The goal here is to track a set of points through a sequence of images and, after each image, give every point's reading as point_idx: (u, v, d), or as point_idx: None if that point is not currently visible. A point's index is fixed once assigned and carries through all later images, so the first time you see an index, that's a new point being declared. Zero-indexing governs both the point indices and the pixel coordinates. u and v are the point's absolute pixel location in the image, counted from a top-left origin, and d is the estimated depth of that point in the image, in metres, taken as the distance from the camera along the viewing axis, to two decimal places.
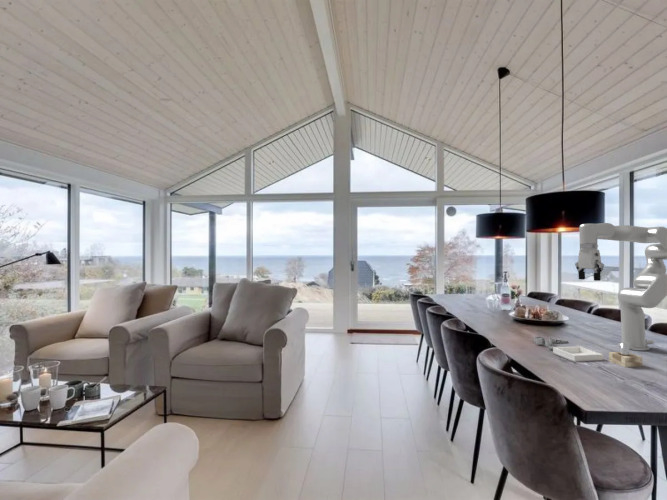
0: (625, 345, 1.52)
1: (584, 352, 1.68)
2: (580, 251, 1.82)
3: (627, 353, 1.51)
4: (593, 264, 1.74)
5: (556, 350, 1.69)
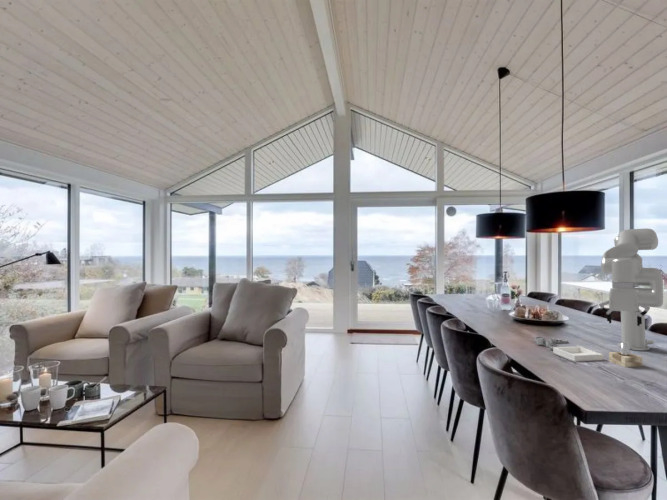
0: (625, 345, 1.52)
1: (584, 352, 1.68)
2: (615, 290, 1.53)
3: (627, 353, 1.51)
4: (638, 307, 1.48)
5: (556, 350, 1.69)
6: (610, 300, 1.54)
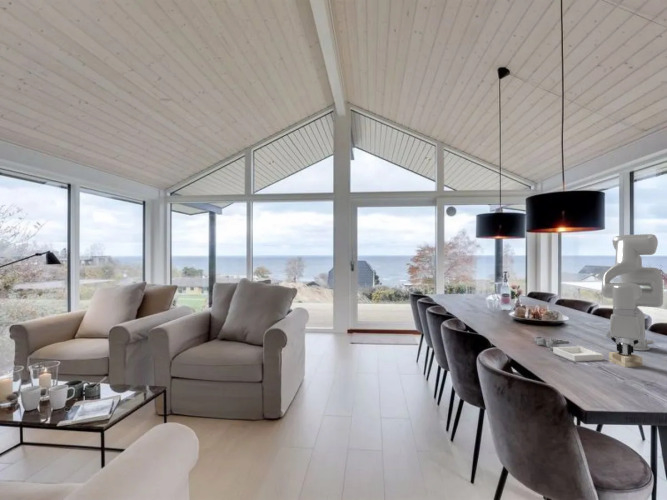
0: (625, 345, 1.52)
1: (584, 352, 1.68)
2: (615, 317, 1.53)
3: (627, 353, 1.51)
4: (638, 334, 1.48)
5: (556, 350, 1.69)
6: (611, 326, 1.54)
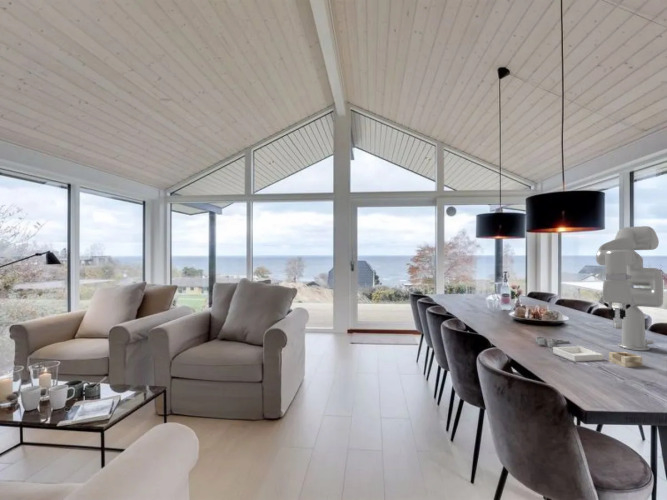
0: (617, 310, 1.53)
1: (584, 352, 1.68)
2: (608, 282, 1.55)
3: (619, 317, 1.53)
4: (630, 298, 1.50)
5: (556, 350, 1.69)
6: (604, 292, 1.56)
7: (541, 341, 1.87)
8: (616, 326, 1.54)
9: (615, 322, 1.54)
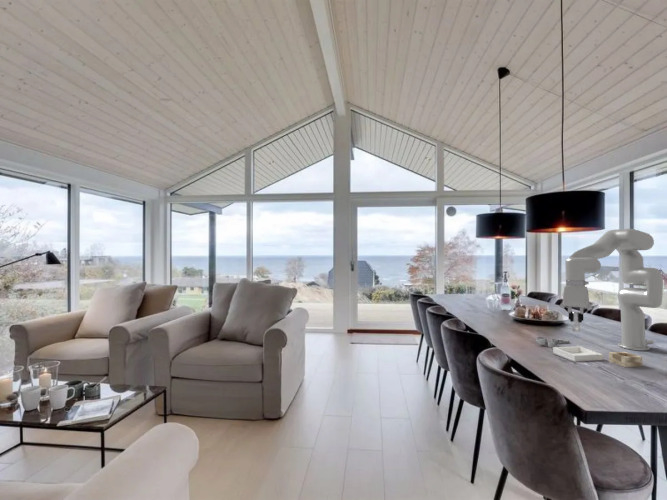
0: (576, 313, 1.64)
1: (584, 352, 1.68)
2: (567, 288, 1.65)
3: (577, 321, 1.64)
4: (587, 303, 1.61)
5: (556, 350, 1.69)
6: (563, 297, 1.67)
7: (542, 341, 1.86)
8: (574, 329, 1.64)
9: (573, 325, 1.65)
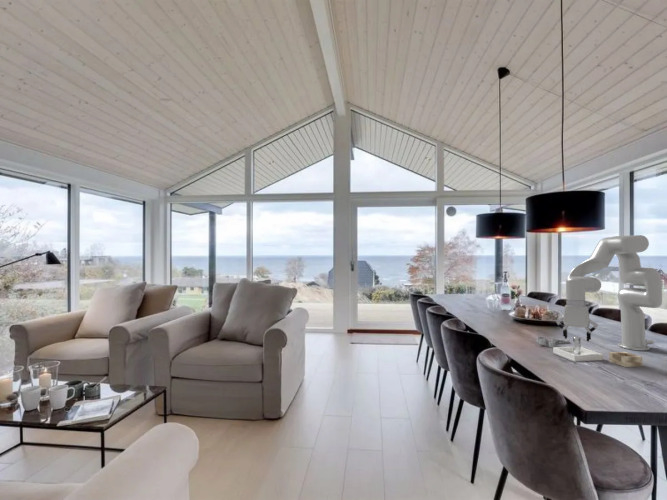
0: (577, 339, 1.64)
1: (584, 352, 1.68)
2: (568, 307, 1.65)
3: (578, 346, 1.63)
4: (588, 323, 1.61)
5: (556, 350, 1.69)
6: (564, 316, 1.67)
7: (542, 341, 1.86)
8: (575, 354, 1.64)
9: (575, 350, 1.64)
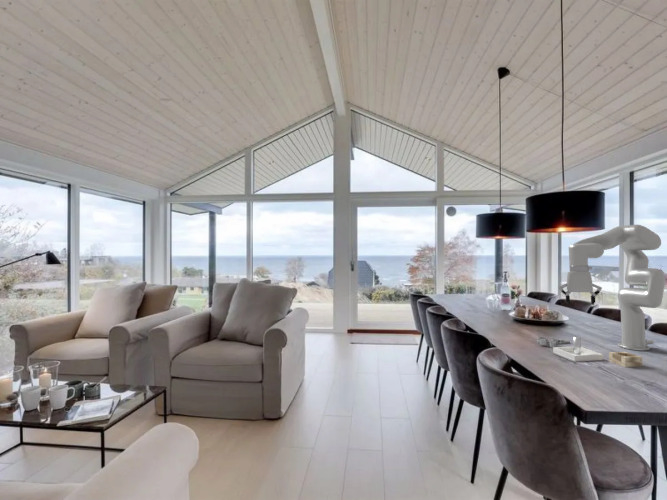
0: (577, 339, 1.64)
1: (584, 352, 1.68)
2: (572, 274, 1.68)
3: (579, 346, 1.63)
4: (592, 287, 1.65)
5: (556, 350, 1.69)
6: (569, 283, 1.69)
7: (543, 341, 1.86)
8: (575, 354, 1.64)
9: (575, 350, 1.64)
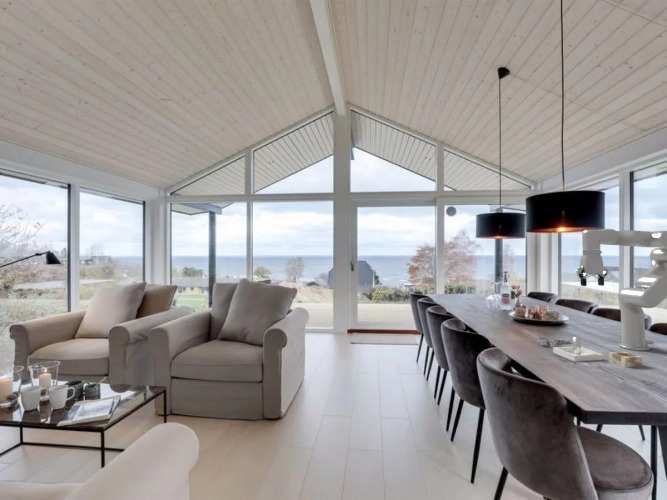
0: (577, 339, 1.64)
1: (584, 352, 1.68)
2: (590, 257, 1.77)
3: (579, 346, 1.63)
4: None
5: (556, 350, 1.69)
6: (586, 266, 1.77)
7: (544, 342, 1.85)
8: (575, 354, 1.64)
9: (575, 350, 1.64)
